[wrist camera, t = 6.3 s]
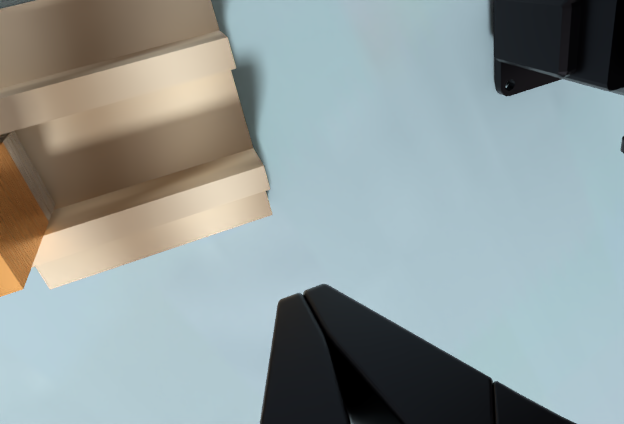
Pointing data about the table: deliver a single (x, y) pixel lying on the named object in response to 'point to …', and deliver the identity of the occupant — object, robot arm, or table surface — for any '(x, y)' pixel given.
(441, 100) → the table surface
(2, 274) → the lock bolt
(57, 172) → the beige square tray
